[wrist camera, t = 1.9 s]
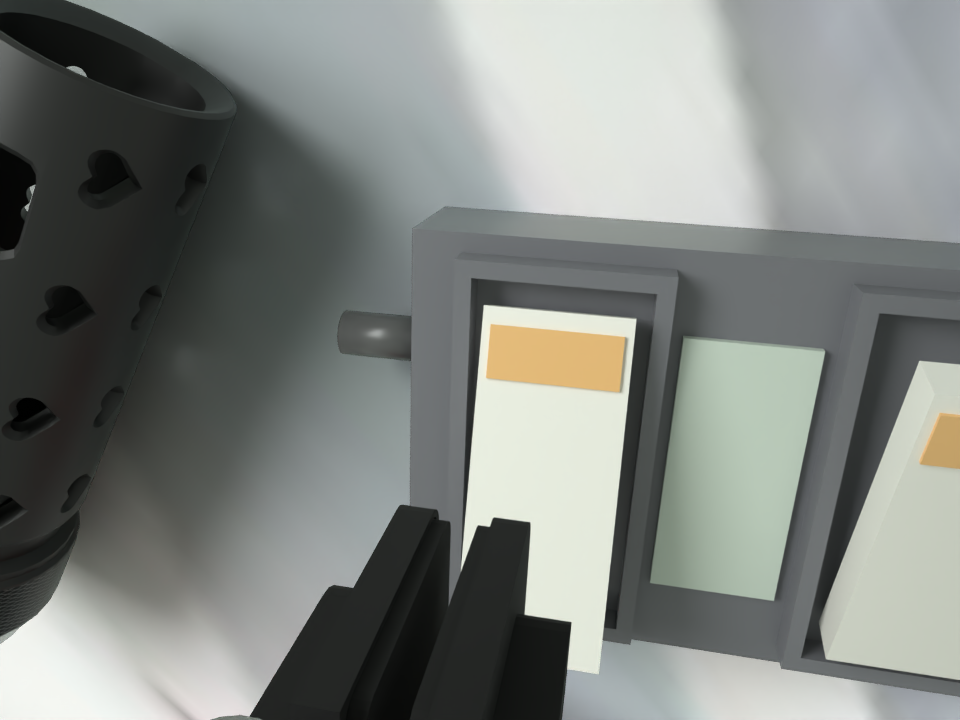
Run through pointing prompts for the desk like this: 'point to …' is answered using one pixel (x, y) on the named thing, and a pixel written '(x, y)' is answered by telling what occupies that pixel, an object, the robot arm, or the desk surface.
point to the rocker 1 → (553, 455)
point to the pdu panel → (694, 403)
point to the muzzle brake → (83, 255)
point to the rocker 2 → (906, 544)
